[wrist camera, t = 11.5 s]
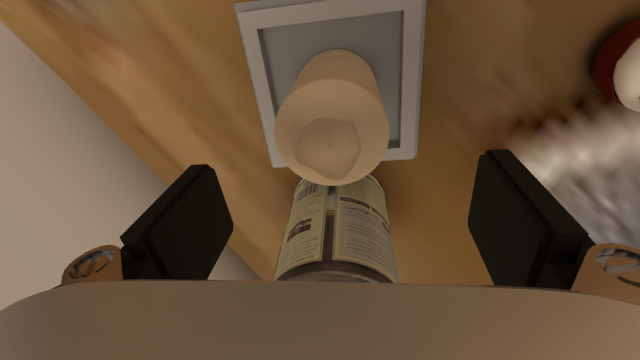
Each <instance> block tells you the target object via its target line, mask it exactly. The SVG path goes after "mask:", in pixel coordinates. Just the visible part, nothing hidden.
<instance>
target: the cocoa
mask: <svg viewBox="0 0 640 360" xmlns="http://www.w3.org/2000/svg"><path fill="white" fill-rule="evenodd" d="M592 75H593V79H594V83H595V85H596V86H597V87H598V88H599V89H600V90H601V91H602V92H603V93H604V94H606V95H607V96H608V97H610V98H611V99H613V100H614V101H615V102H617V103H619V104H621V105H623V106H625V107H626V108H629V109H632V110H634V111H637V112H639V113H640V19H639V20H636V21H633V22H631V23H628V24H626V25H625V26H624V27H622V28H621V29H620V30H618V31H617V32H616V33H614V34H613V35H612V36H610V37H609V38H608V39H607V40H606V41H605V43H604V44H603V45H602V47H601V48H600V49H599V51H598V52H597V53H596V57H595V60H594V63H593V67H592Z"/></svg>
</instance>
